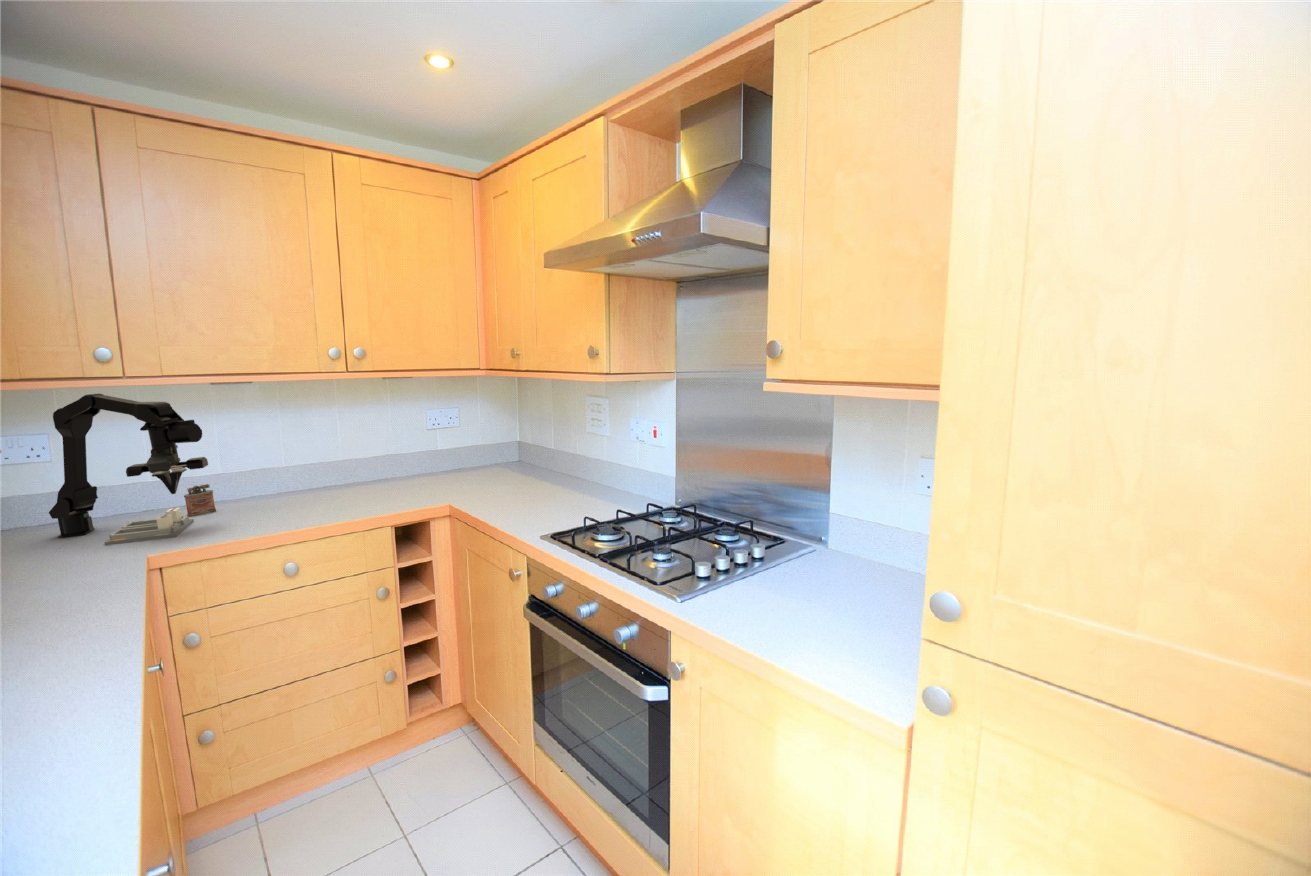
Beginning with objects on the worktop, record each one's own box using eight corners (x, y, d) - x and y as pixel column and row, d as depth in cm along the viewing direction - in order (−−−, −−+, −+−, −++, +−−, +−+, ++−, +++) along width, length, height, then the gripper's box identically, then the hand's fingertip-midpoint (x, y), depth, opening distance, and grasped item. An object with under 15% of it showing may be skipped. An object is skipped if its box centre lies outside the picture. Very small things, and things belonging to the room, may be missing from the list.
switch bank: (104, 545, 171) (103, 537, 171) (128, 529, 186) (127, 521, 185) (176, 536, 178) (175, 528, 177) (194, 521, 192) (192, 514, 192)
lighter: (189, 517, 197) (184, 488, 195) (186, 516, 199) (181, 487, 197) (217, 511, 203) (213, 483, 202) (214, 510, 205) (209, 482, 204)
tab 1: (158, 533, 177) (156, 518, 177) (163, 529, 181) (161, 514, 180) (169, 532, 178) (166, 517, 178) (173, 528, 182) (171, 513, 181)
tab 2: (168, 525, 185) (165, 511, 184) (172, 522, 188) (170, 507, 188) (177, 524, 186) (175, 510, 185) (182, 520, 189) (180, 506, 188)
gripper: (112, 452, 167) (124, 505, 170) (192, 444, 174) (202, 495, 177) (129, 446, 177) (140, 496, 180) (203, 438, 184) (213, 487, 187)
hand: (173, 493), depth 181 cm, fingers closed
